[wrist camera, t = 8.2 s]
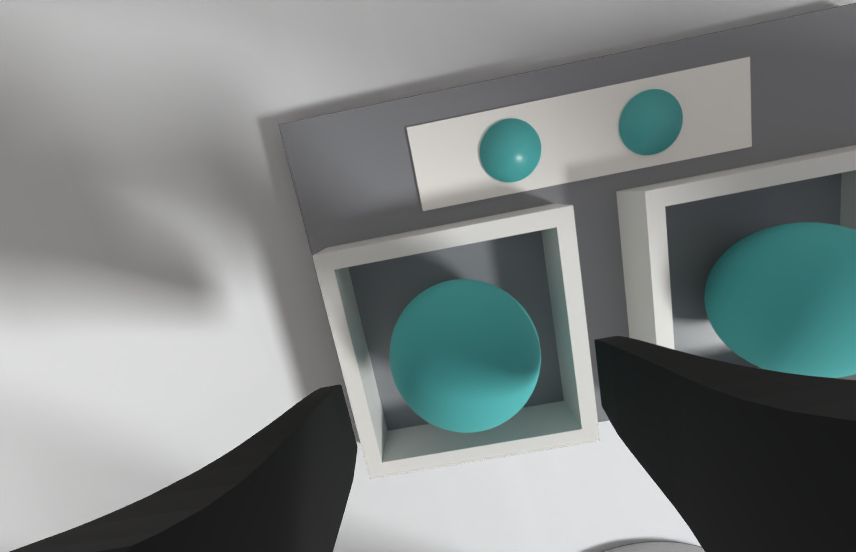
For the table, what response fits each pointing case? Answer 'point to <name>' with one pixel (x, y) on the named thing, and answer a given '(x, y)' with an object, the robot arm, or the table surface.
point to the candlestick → (657, 547)
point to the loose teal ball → (465, 355)
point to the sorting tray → (571, 210)
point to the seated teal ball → (788, 299)
